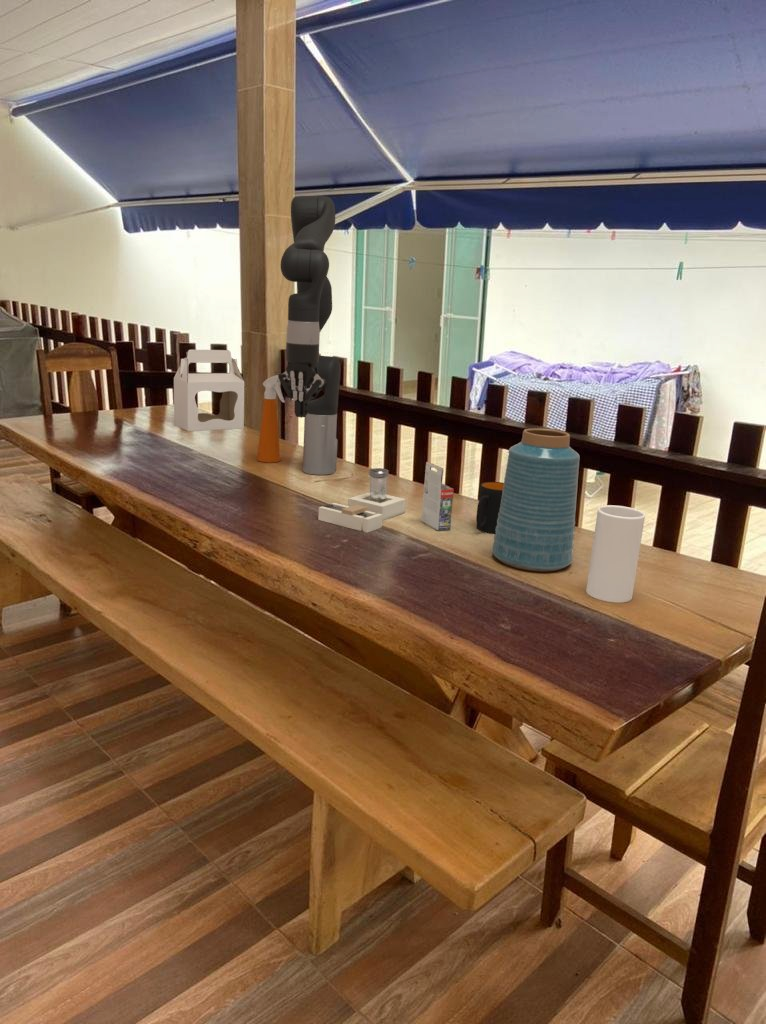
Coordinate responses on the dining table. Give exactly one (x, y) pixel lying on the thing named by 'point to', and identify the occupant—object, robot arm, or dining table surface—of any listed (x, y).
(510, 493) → the vase
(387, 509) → the socket block
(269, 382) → the spray bottle
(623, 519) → the cup
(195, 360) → the gable box
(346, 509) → the pin guide
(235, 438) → the dining table surface
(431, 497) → the ink box
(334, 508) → the pin
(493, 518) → the mug
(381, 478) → the salt shaker
